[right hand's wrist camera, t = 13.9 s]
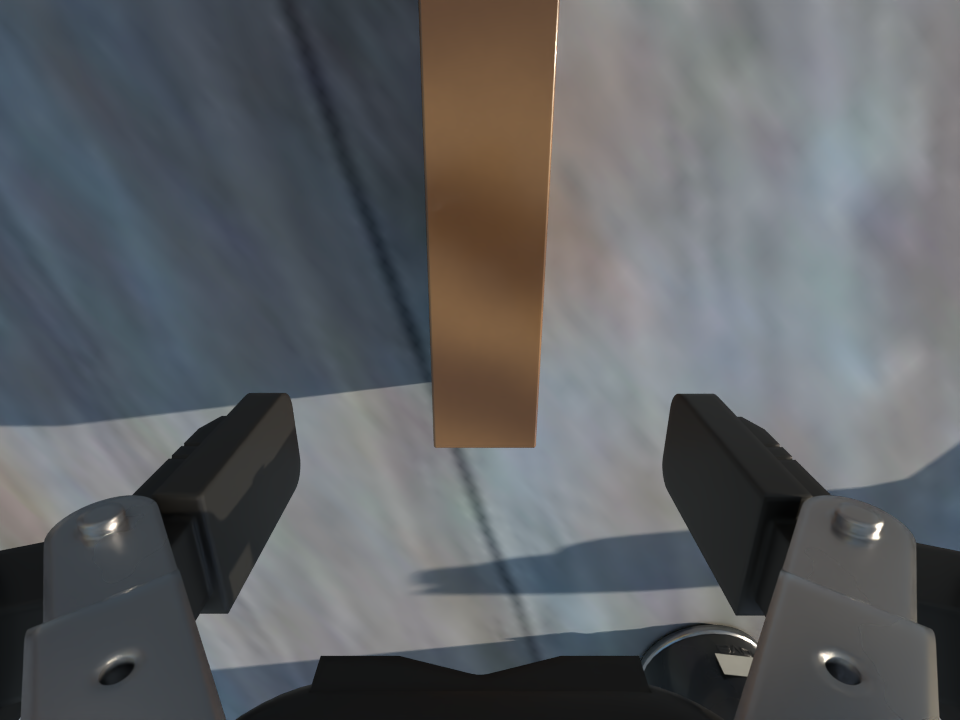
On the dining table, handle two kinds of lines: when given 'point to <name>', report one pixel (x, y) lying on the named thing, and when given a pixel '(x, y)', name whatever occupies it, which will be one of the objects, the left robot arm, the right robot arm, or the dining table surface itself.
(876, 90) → the dining table surface
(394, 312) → the dining table surface
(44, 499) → the dining table surface
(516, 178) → the post
